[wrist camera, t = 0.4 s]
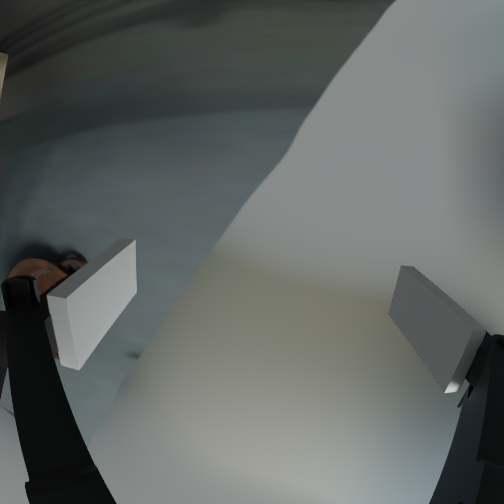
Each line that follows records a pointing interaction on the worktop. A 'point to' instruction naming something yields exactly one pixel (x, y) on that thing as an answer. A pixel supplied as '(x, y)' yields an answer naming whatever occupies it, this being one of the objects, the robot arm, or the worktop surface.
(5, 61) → the socket block
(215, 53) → the worktop surface
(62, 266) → the dish
